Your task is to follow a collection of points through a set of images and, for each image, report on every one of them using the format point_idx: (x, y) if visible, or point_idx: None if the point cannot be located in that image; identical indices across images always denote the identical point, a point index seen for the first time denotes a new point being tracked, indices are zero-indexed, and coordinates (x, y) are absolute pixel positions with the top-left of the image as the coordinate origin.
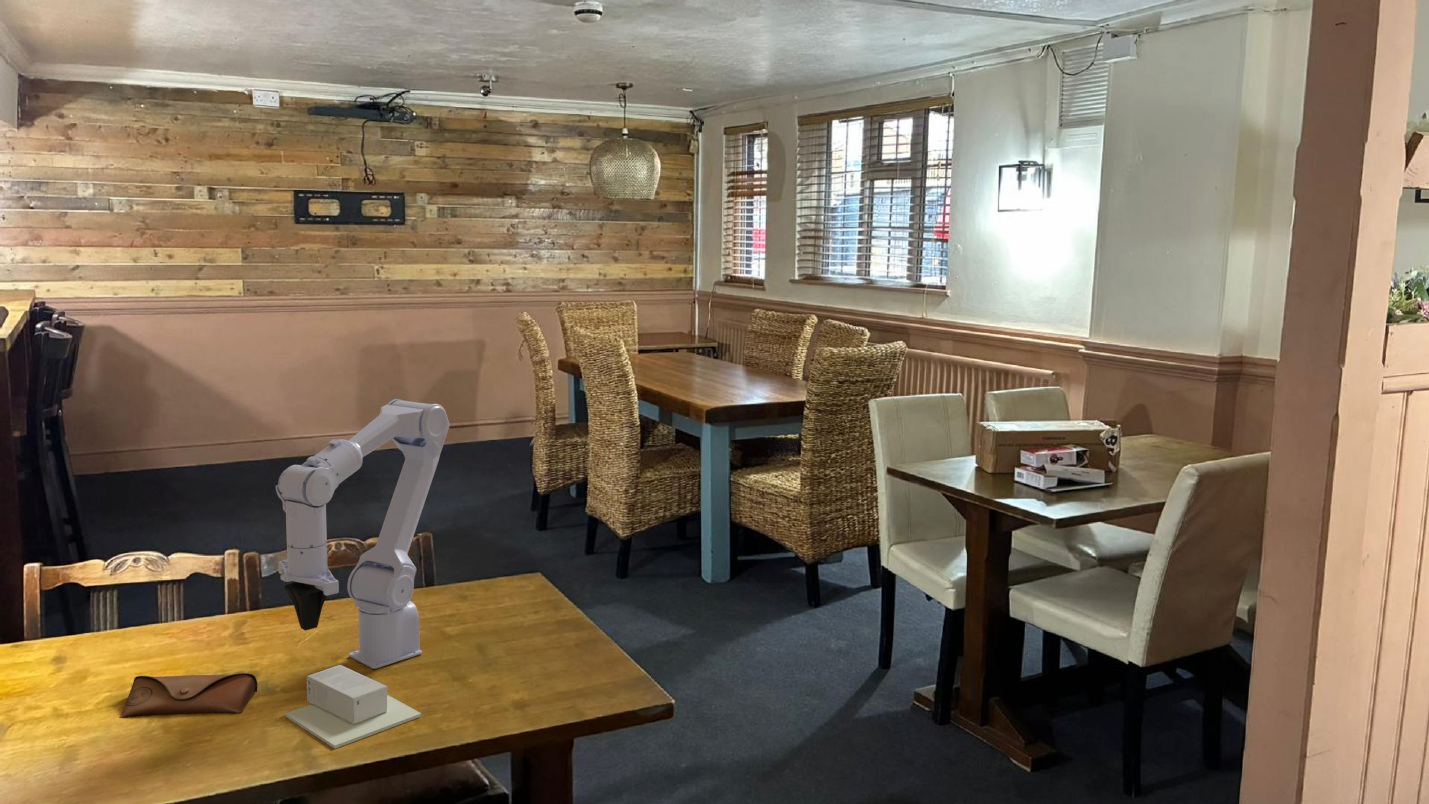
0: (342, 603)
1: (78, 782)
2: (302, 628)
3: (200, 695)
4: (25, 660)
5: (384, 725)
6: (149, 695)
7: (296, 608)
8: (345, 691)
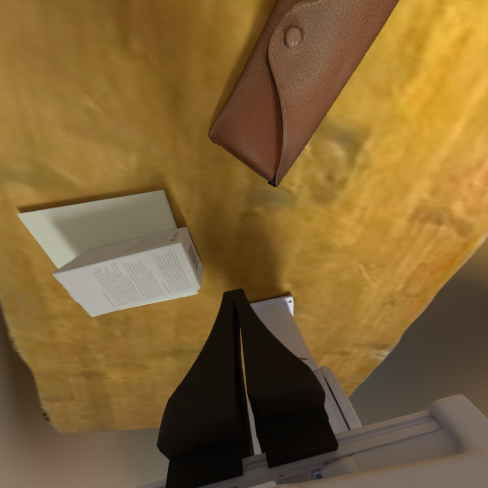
0: (408, 317)
1: None
2: (234, 291)
3: (267, 73)
4: None
5: None
6: None
7: (248, 323)
8: (86, 272)
